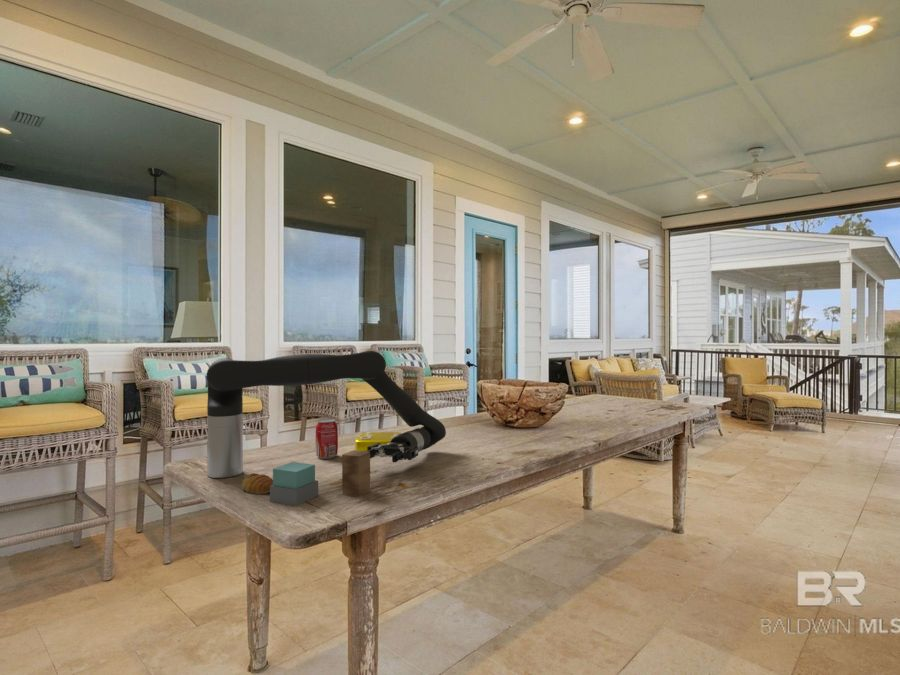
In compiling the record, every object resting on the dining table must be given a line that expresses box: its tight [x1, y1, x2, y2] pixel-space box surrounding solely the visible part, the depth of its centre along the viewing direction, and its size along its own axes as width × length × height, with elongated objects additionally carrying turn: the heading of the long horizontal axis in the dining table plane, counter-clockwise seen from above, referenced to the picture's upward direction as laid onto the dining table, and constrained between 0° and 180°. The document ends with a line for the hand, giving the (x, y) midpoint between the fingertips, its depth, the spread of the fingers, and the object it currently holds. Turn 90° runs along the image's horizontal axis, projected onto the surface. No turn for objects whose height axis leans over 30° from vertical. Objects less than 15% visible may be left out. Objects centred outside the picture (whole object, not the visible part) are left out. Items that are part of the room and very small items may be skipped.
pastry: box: [241, 473, 273, 495], centre depth 126 cm, size 9×7×4 cm
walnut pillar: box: [341, 449, 371, 498], centre depth 124 cm, size 5×5×10 cm
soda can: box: [315, 418, 339, 460], centre depth 160 cm, size 7×7×12 cm
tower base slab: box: [269, 479, 319, 507], centre depth 120 cm, size 8×8×4 cm
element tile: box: [354, 431, 403, 453], centre depth 174 cm, size 15×15×5 cm
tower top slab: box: [272, 461, 316, 489], centre depth 120 cm, size 7×7×4 cm
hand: (379, 457), depth 134 cm, fingers open, 8 cm apart
